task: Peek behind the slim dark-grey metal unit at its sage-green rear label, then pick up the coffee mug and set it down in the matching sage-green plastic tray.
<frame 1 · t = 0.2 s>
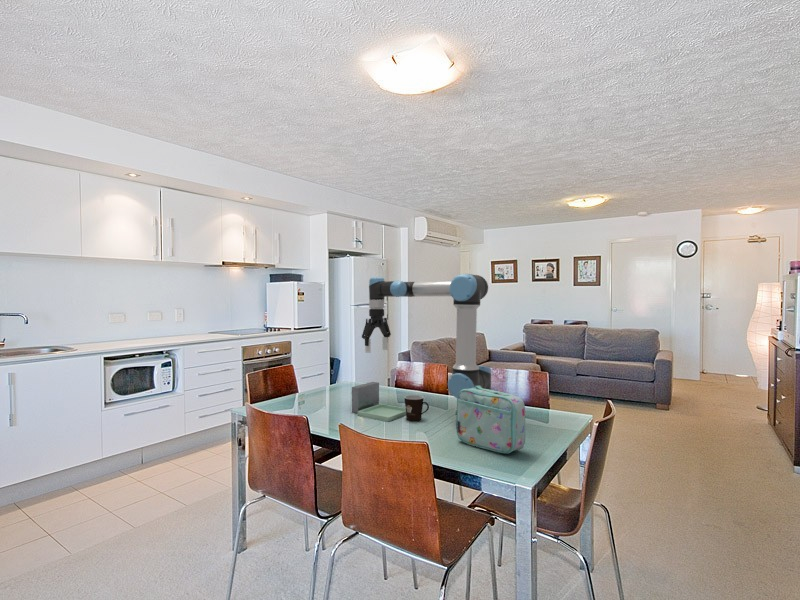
hand: (376, 351, 220), 28 cm above the table, fingers open, 13 cm apart
tray: (384, 414, 206), on the table
lunch box: (487, 446, 162), on the table
unit: (365, 409, 215), on the table
coffee mug: (415, 420, 196), on the table
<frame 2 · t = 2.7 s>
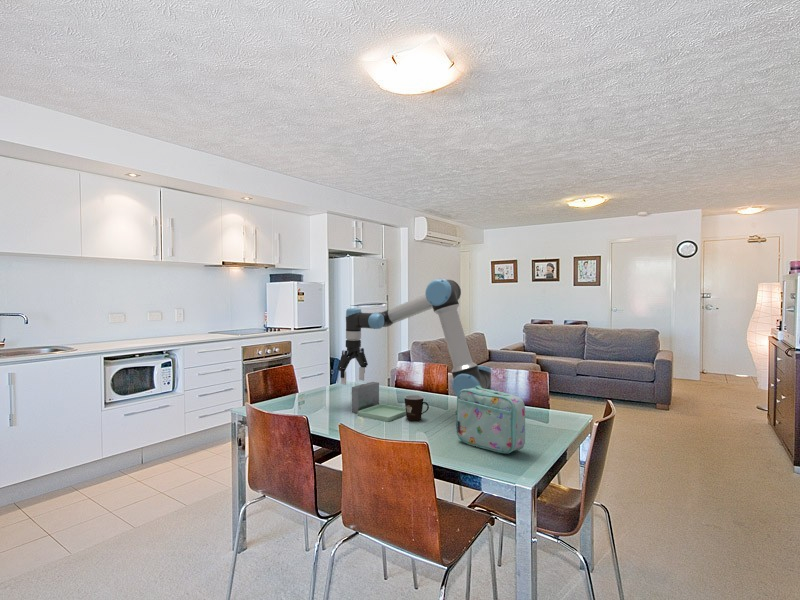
hand: (352, 382, 219), 12 cm above the table, fingers open, 13 cm apart
nothing on the table moved.
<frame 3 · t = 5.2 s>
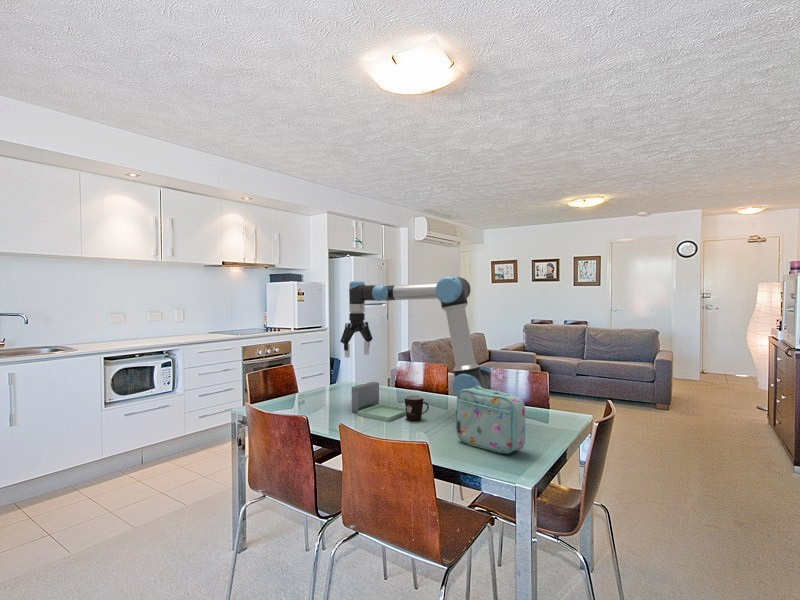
hand: (357, 355, 218), 26 cm above the table, fingers open, 13 cm apart
nothing on the table moved.
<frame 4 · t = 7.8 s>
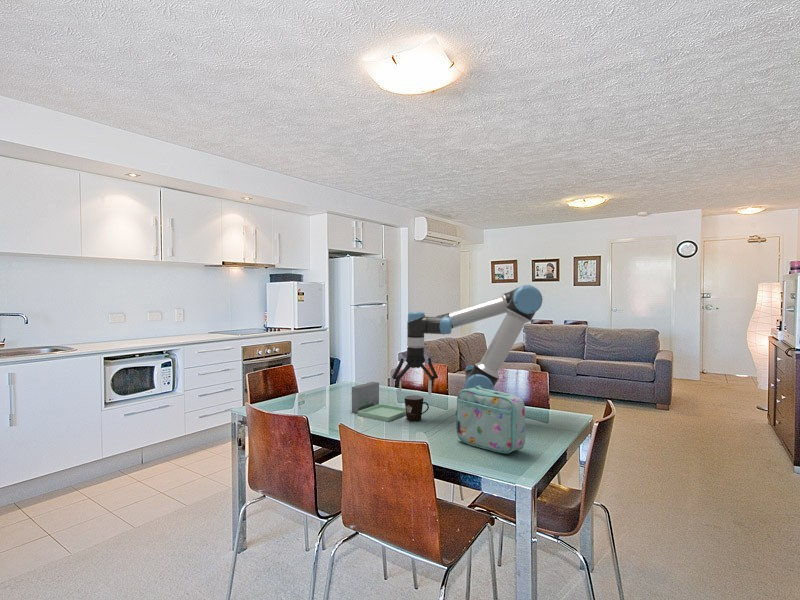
hand: (414, 394, 196), 11 cm above the table, fingers open, 13 cm apart
nothing on the table moved.
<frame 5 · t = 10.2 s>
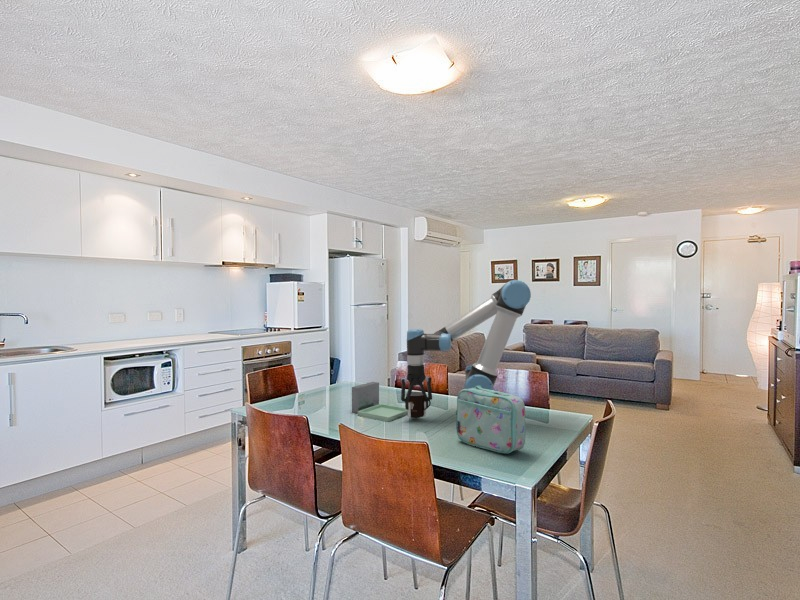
hand: (417, 416, 196), 2 cm above the table, fingers closed on coffee mug, 6 cm apart
coffee mug: (417, 417, 196), point 1 cm above the table, touching gripper
everything else where it was.
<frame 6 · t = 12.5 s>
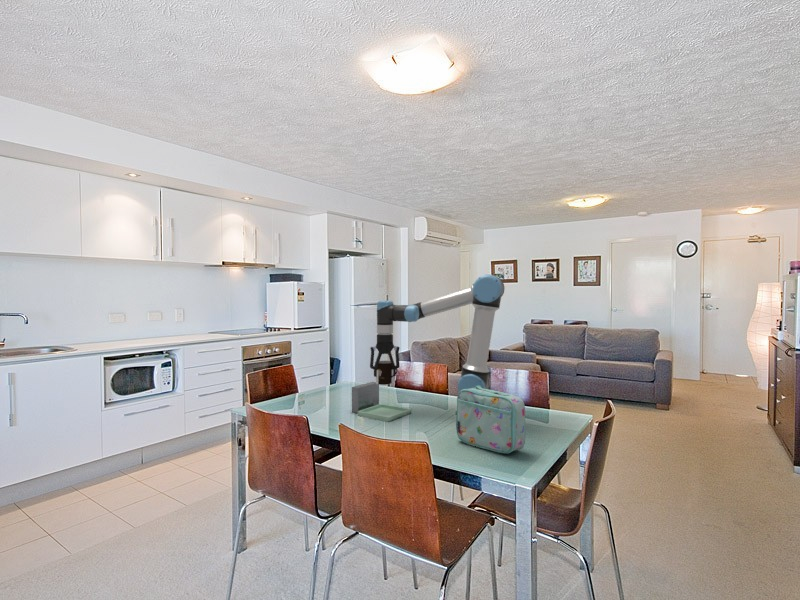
hand: (384, 383, 206), 15 cm above the table, fingers closed on coffee mug, 6 cm apart
coffee mug: (385, 384, 206), point 14 cm above the table, touching gripper
everything else where it was.
when the fingers open (2 cm above the table, at t = 15.0 s): coffee mug drops 1 cm, resting on tray.
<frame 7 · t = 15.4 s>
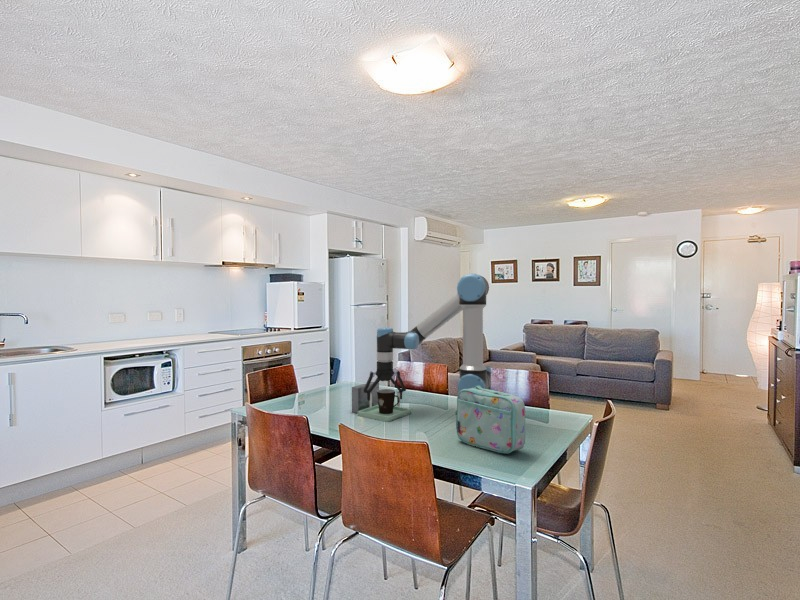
hand: (384, 406, 206), 4 cm above the table, fingers open, 12 cm apart
coffee mug: (387, 413, 206), resting on tray
everything else where it was.
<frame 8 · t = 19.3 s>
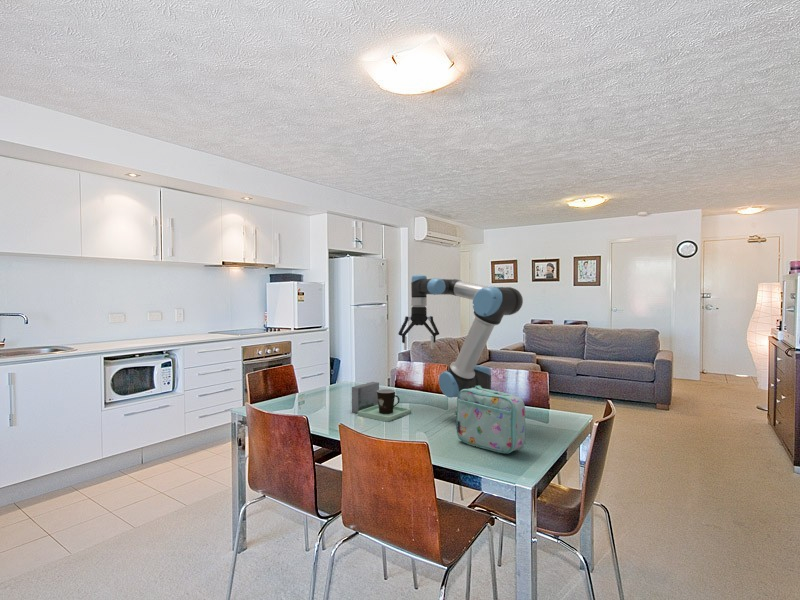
hand: (418, 349, 218), 29 cm above the table, fingers open, 13 cm apart
nothing on the table moved.
at the end: coffee mug inside the target area on the tray (1.2 cm from its centre), point 0.4 cm above the tray's base; coffee mug tilted 0°; the gripper is holding nothing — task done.
